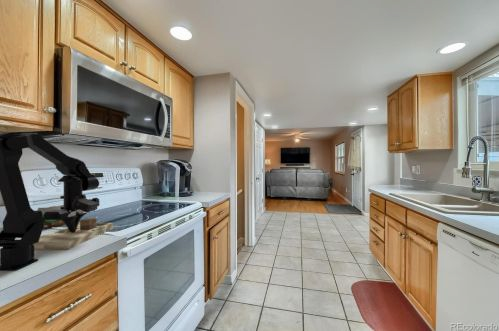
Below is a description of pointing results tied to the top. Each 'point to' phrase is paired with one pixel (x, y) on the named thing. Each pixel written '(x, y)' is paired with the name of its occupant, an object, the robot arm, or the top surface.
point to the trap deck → (70, 237)
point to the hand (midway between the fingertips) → (73, 232)
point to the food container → (51, 222)
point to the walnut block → (88, 223)
